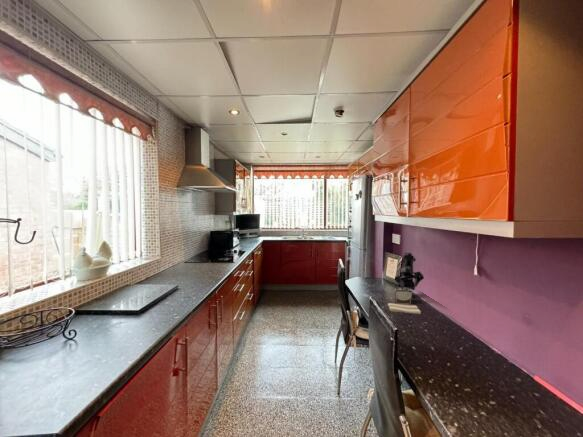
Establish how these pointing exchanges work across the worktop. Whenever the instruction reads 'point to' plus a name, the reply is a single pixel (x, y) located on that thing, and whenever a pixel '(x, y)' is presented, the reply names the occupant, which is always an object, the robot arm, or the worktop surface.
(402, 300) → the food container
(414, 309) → the base board
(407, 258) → the robot arm
